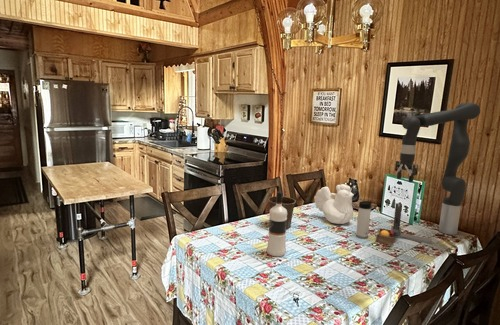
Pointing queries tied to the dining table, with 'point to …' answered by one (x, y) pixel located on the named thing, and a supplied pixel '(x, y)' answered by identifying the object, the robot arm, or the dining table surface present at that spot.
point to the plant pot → (287, 204)
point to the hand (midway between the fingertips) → (404, 180)
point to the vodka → (277, 228)
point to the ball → (385, 233)
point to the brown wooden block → (384, 237)
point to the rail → (414, 238)
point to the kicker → (396, 221)
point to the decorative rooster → (335, 204)
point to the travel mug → (363, 219)
